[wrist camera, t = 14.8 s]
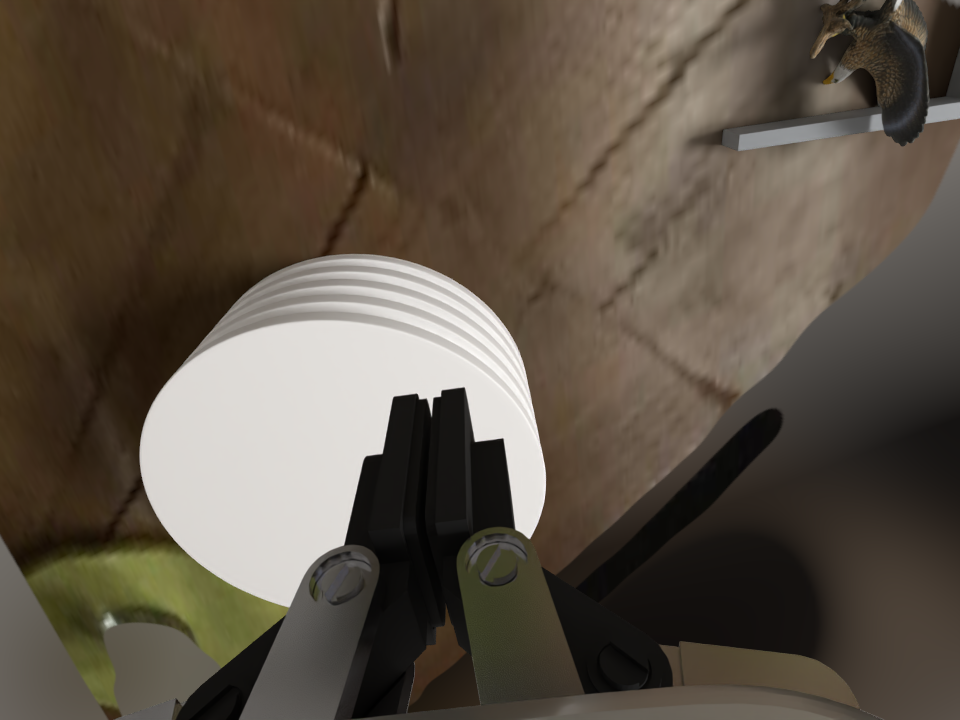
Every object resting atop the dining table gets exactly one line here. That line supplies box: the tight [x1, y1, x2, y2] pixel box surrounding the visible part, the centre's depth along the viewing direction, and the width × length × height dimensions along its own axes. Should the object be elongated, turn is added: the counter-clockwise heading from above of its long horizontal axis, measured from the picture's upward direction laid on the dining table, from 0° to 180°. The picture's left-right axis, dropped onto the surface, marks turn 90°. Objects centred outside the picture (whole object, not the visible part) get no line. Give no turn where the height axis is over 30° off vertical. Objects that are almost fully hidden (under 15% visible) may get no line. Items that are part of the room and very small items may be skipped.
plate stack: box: [140, 254, 546, 608], centre depth 43 cm, size 28×28×12 cm
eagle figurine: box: [810, 0, 930, 146], centre depth 32 cm, size 8×7×9 cm
